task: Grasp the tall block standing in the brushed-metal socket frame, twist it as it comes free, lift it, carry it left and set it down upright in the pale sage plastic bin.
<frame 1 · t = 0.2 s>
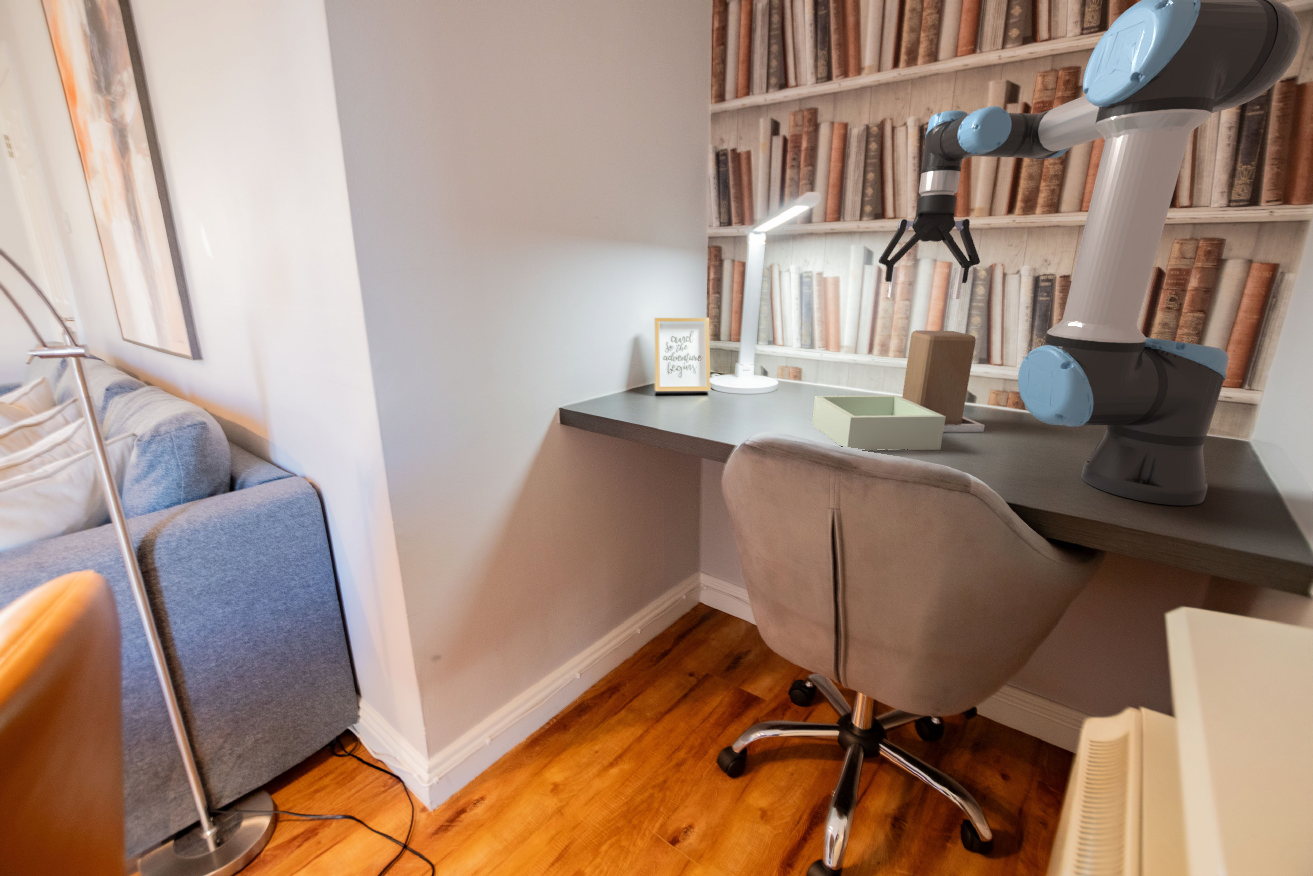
hand: (922, 298, 127), 27 cm above the table, fingers open, 13 cm apart
bin: (871, 436, 116), on the table
socket frame: (928, 422, 128), on the table
block: (928, 423, 128), resting in socket frame
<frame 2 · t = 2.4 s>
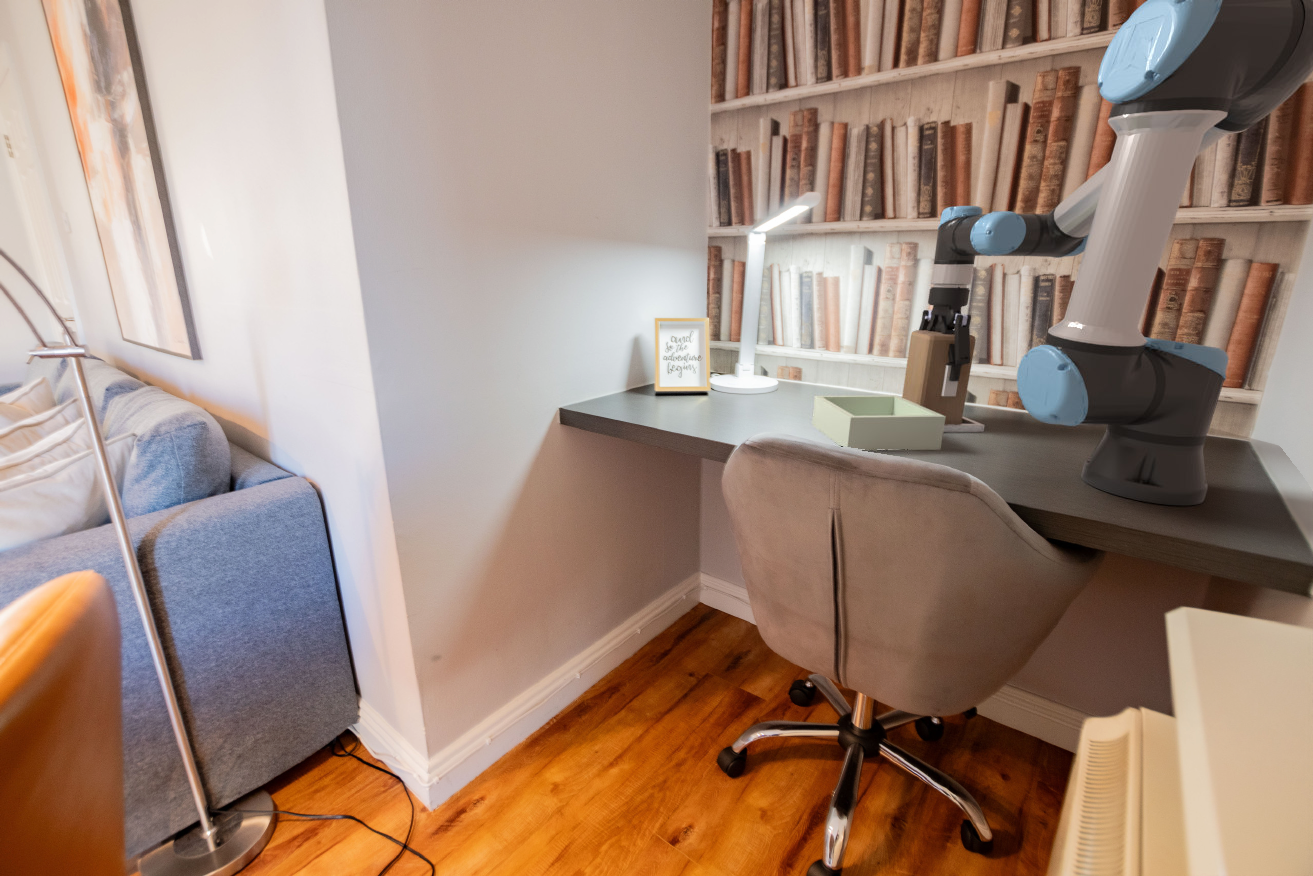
hand: (933, 390, 125), 7 cm above the table, fingers closed on block, 10 cm apart
block: (928, 423, 128), resting in socket frame, touching gripper
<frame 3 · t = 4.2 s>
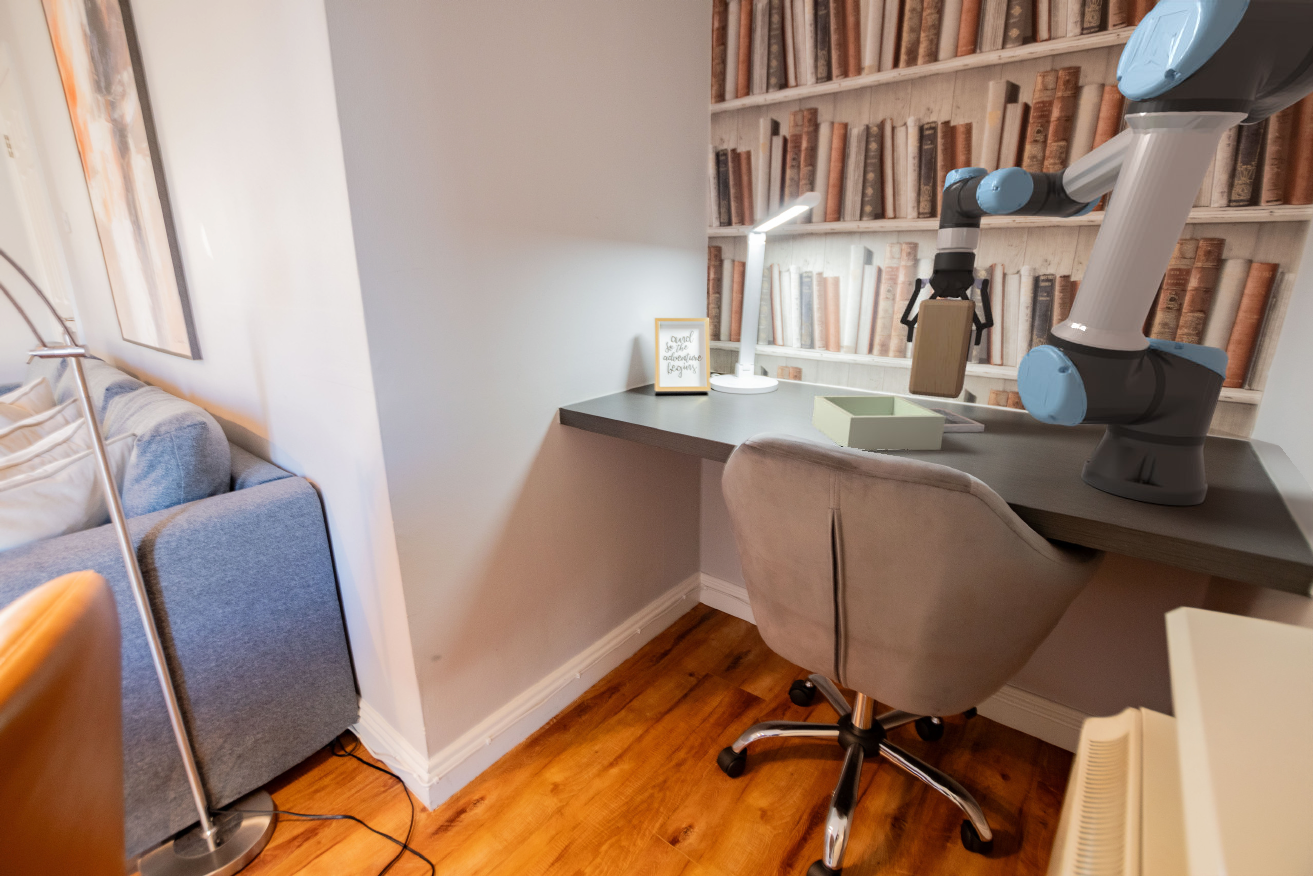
hand: (940, 359, 123), 14 cm above the table, fingers closed on block, 10 cm apart
block: (935, 394, 125), point 7 cm above the table, touching gripper
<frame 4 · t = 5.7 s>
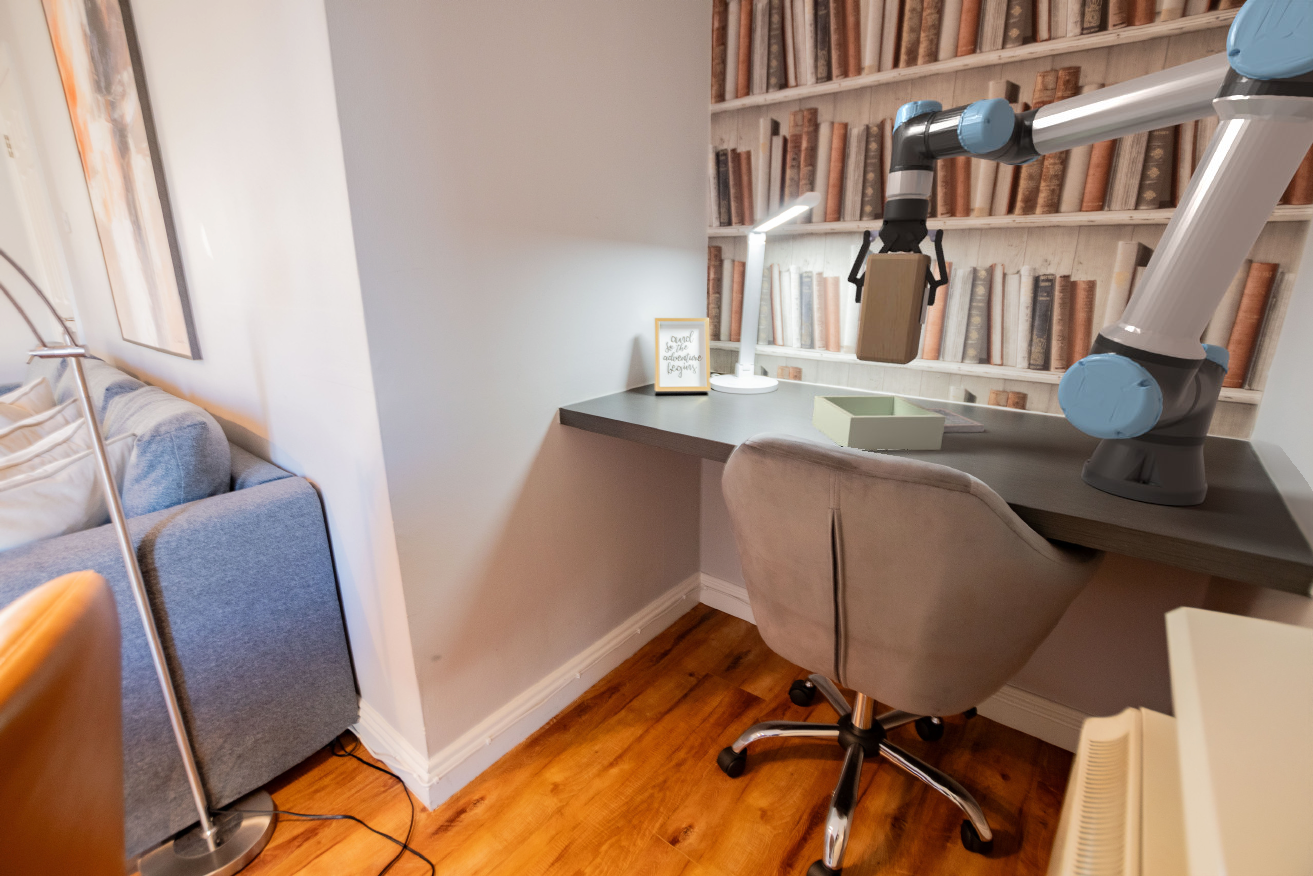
hand: (891, 322, 111), 23 cm above the table, fingers closed on block, 10 cm apart
block: (886, 360, 113), point 15 cm above the table, touching gripper
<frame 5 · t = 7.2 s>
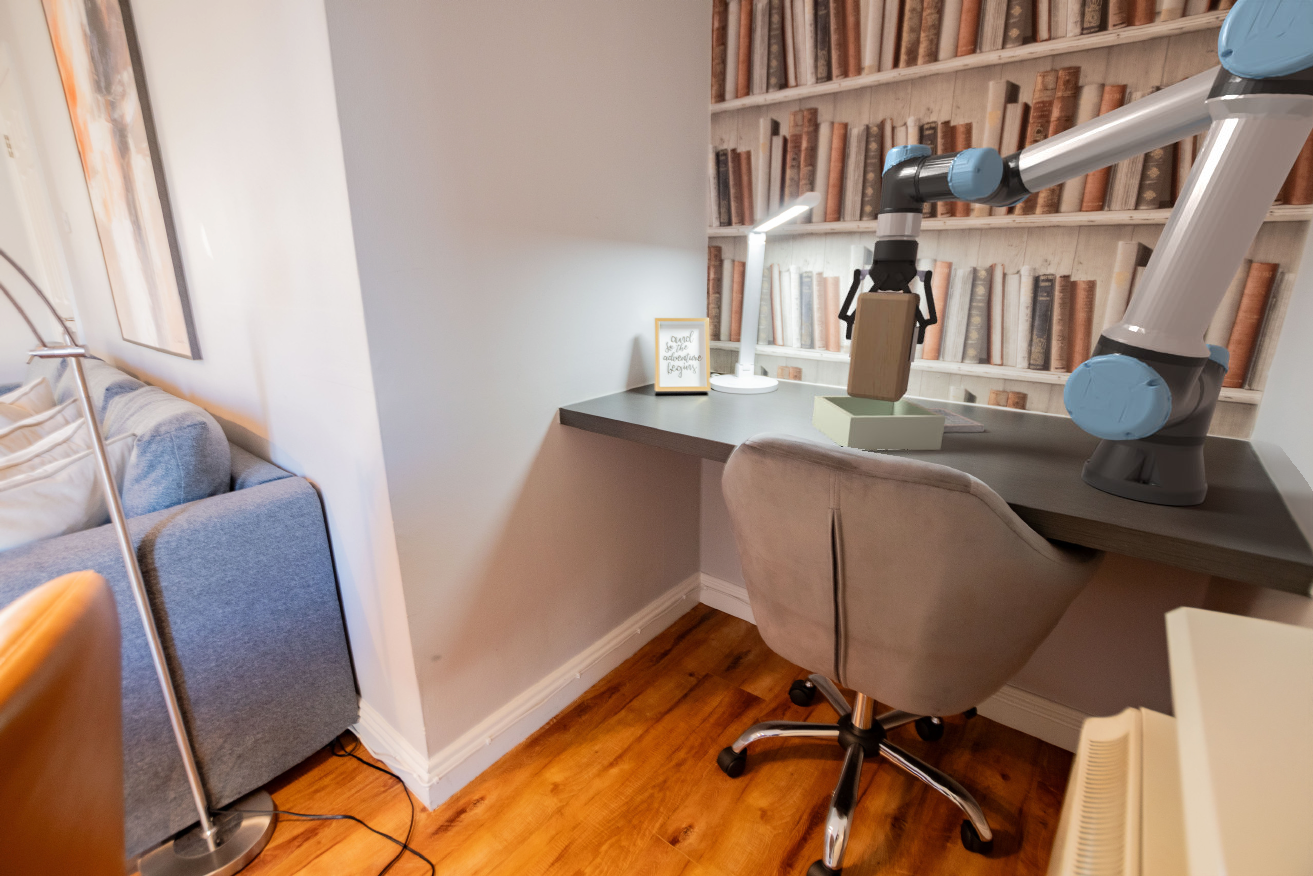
hand: (881, 358, 112), 16 cm above the table, fingers closed on block, 10 cm apart
block: (876, 396, 114), point 8 cm above the table, touching gripper
when the fingers open (10 cm above the table, at t = 8.8 s): block drops 2 cm, resting on bin.
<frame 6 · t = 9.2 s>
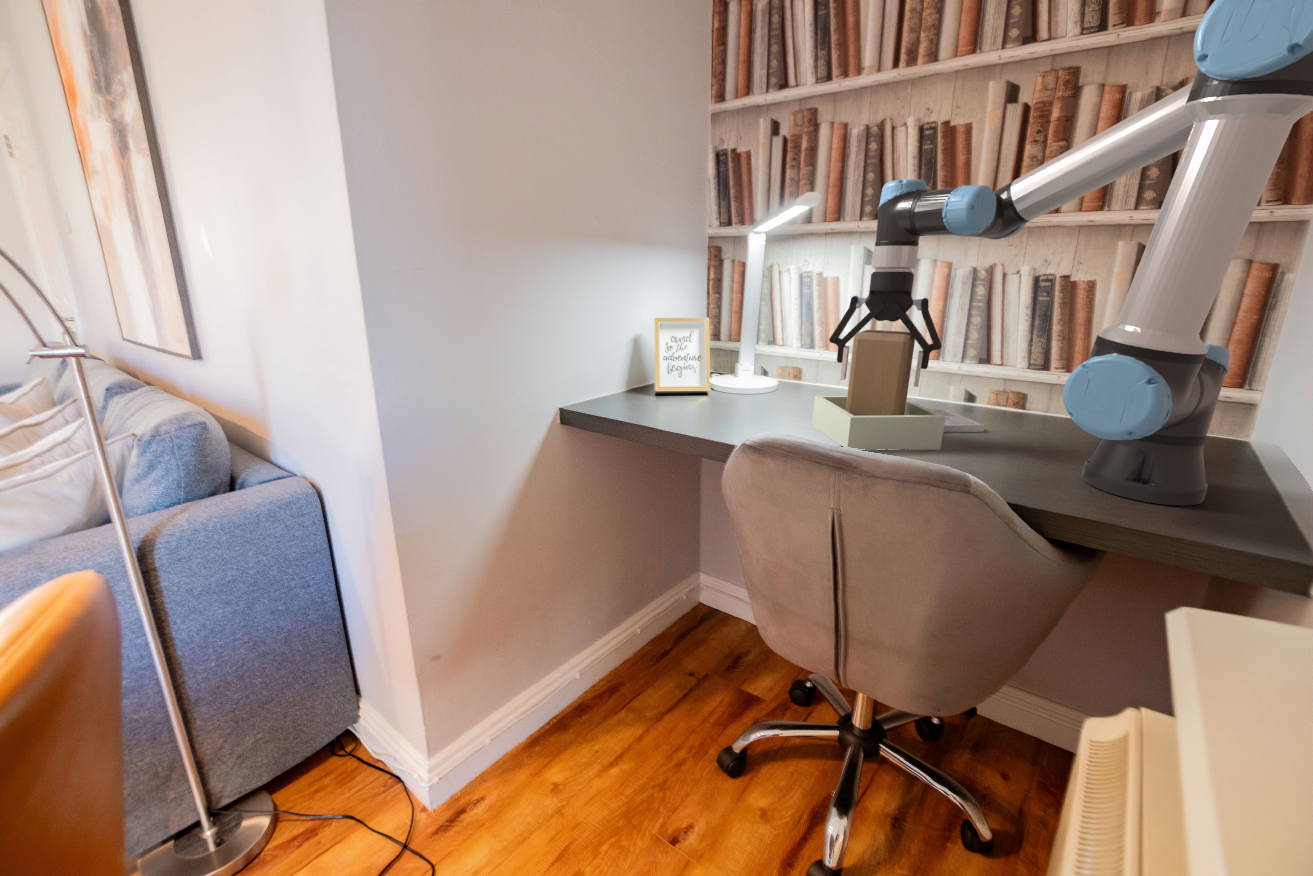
hand: (878, 382, 113), 11 cm above the table, fingers open, 13 cm apart
block: (872, 432, 116), point 1 cm above the table, touching bin
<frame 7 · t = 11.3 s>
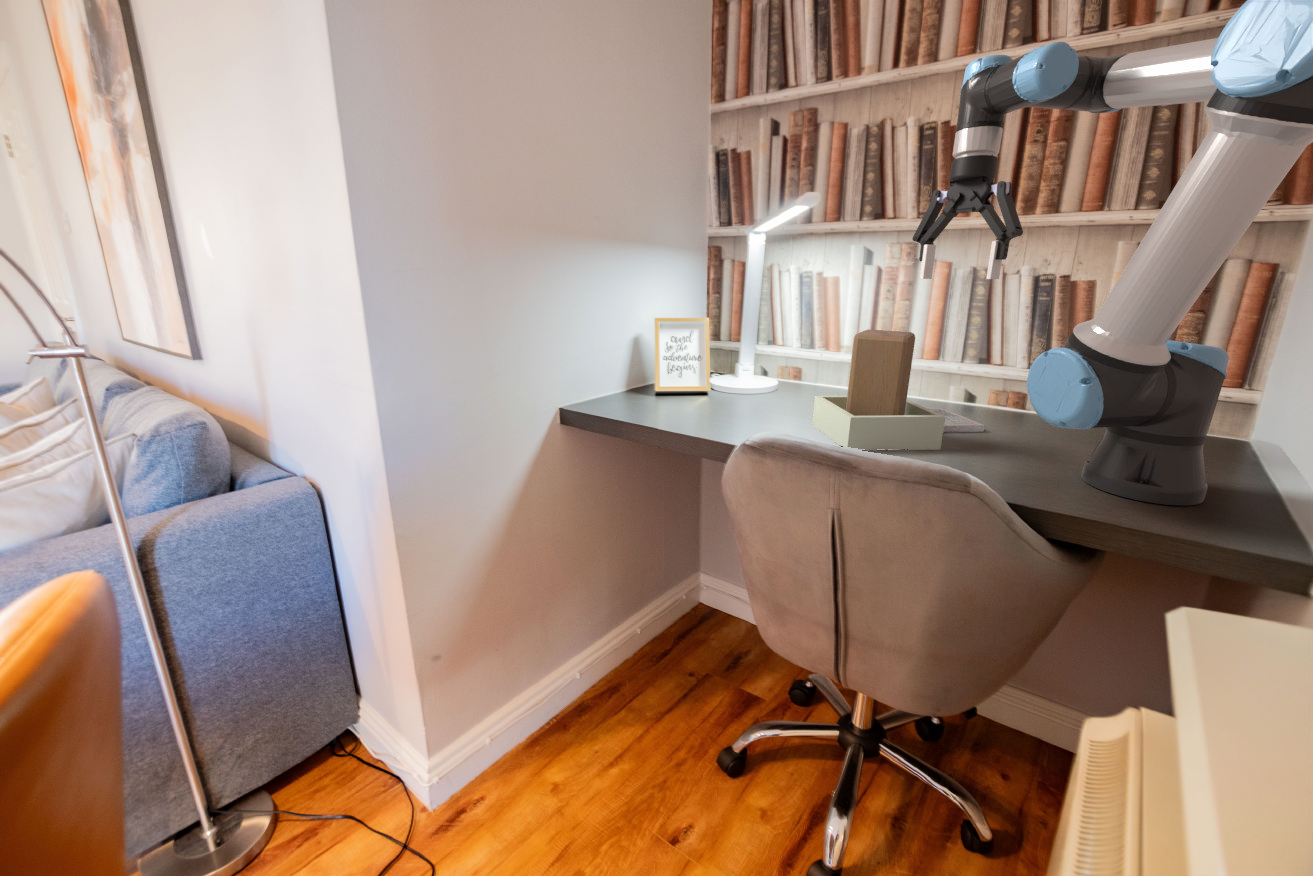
hand: (957, 279, 109), 31 cm above the table, fingers open, 13 cm apart
nothing on the table moved.
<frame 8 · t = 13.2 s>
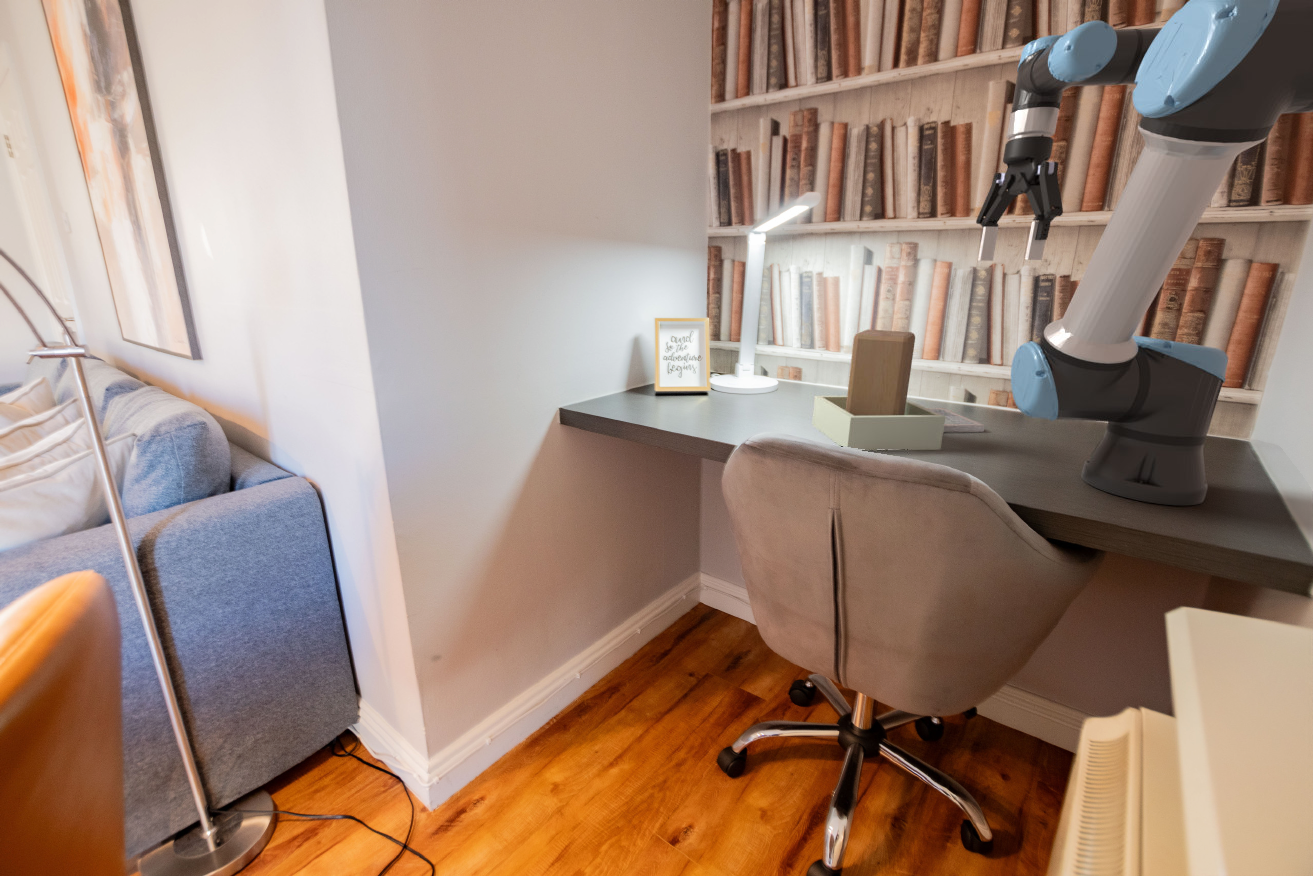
hand: (1007, 260, 111), 35 cm above the table, fingers open, 13 cm apart
nothing on the table moved.
at the end: block inside the target area on the bin (0.1 cm from its centre), point 0.8 cm above the bin's base; block tilted 0°; the gripper is holding nothing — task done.
